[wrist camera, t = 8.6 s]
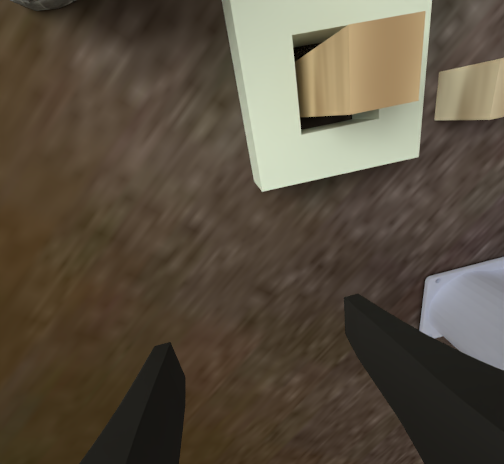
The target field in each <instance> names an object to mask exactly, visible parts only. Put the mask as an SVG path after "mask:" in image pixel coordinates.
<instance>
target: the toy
mask: <svg viewBox="0 0 504 464" xmlns="http://www.w3.org/2000/svg"><path fill="white" fill-rule="evenodd" d="M10 1H13V2H15V3H17V4H20V5H22V6H25V7H28V8H30V9H33V10H35V11H40V10H49V9H57V8H61V7H63V6H65V5H68V4H70V3H72V2H74V1H76V0H10Z"/></svg>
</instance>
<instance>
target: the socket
mask: <svg viewBox="0 0 504 464" xmlns="http://www.w3.org/2000/svg"><path fill="white" fill-rule="evenodd" d="M222 5H223V11H224V16H225V22H226V27H227V33H228V38H229V44H230V50H231V55H232V61H233V66H234V72H235V77H236V83H237V89H238V94H239V100H240V105H241V111H242V116H243V122H244V128H245V133H246V139H247V144H248V150H249V155H250V161H251V167H252V172H253V178H254V182H255V183H256V184H257V185H258V187H259V188H260V189H261V191H262V192H263V191H268V190H272V189H277V188H281V187H286V186H290V185H295V184H299V183H304V182H308V181H313V180H317V179H322V178H326V177H331V176H335V175H340V174H344V173H349V172H353V171H358V170H362V169H367V168H371V167H376V166H380V165H385V164H389V163H394V162H398V161H403V160H407V159H412V158H416V157H419V148H420V136H421V124H422V112H423V101H424V89H425V77H426V65H427V54H428V42H429V30H430V18H431V6H432V0H222ZM422 11H426V13H425V26H424V38H423V51H422V64H421V76H420V89H419V101H415V102H410V103H405V104H400V105H395V106H391V107H386V108H381V109H376V110H371V111H366V112H361V113H356V114H352V119H351V120H346V121H341V122H336V123H331V124H327V125H322V126H317V127H312V128H307V129H302V130H301V124H300V114H299V103H298V93H297V82H296V72H295V61H294V51H293V48H294V47H300V46H305V45H311V44H316V43H322V42H324V41H326V40H327V39H328V38H330V37H331V36H333V35H334V34H336V33H337V32H339V31H340V30H341V29H343V28H344V27H346V26H347V25H349V24H354V23H360V22H366V21H371V20H377V19H383V18H388V17H394V16H400V15H405V14H411V13H416V12H422Z"/></svg>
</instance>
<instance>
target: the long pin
mask: <svg viewBox="0 0 504 464" xmlns="http://www.w3.org/2000/svg"><path fill="white" fill-rule="evenodd" d="M425 13H426V11H422V12H416V13H411V14H405V15H400V16H394V17H388V18H383V19H377V20H371V21H366V22H360V23H354V24H349V25H347V26H346V27H344V28H343V29H341V30H340V31H339V32H337V33H336V34H334V35H333V36H331V37H330V38H328V39H327V40H326V41H324V42H323V43H321V44H320V45H318V46H317V47H315V48H314V49H313V50H311V51H310V52H308V53H307V54H305V55H304V56H303V57H301V58H300V59H298V60H297V61H295V72H296V82H297V93H298V103H299V114H300V117H316V116H335V115H351V114H356V113H361V112H366V111H371V110H376V109H381V108H386V107H391V106H395V105H400V104H405V103H410V102H415V101H419V89H420V76H421V64H422V51H423V38H424V26H425Z"/></svg>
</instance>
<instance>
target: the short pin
mask: <svg viewBox="0 0 504 464" xmlns="http://www.w3.org/2000/svg"><path fill="white" fill-rule="evenodd" d="M500 117H504V58H501V59H497V60H492V61H488V62H483V63H478V64H474V65H469V66H465V67H460V68H455V69H451V70H446V71H442V72H439V79H438V89H437V99H436V109H435V118H434V120H491V119H496V118H500Z"/></svg>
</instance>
